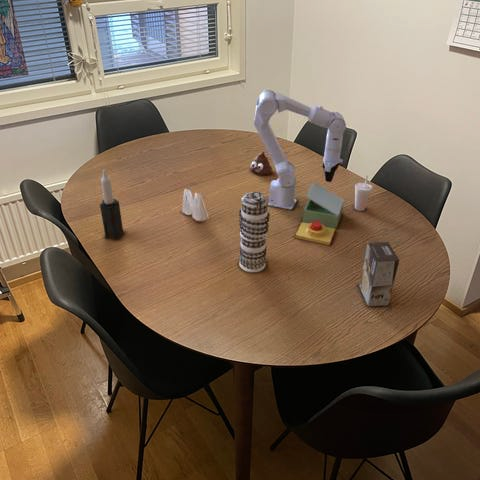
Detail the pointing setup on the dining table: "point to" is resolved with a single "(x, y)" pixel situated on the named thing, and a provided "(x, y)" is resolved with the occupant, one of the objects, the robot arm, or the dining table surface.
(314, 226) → the button
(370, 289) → the coffee box
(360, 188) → the smoothie
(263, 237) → the plaid banded cylinder
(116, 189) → the dining table surface
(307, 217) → the panel
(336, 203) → the pale blue lid
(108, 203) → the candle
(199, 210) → the shaker set
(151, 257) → the dining table surface
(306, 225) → the yellow button base
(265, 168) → the cartoon dung pile
